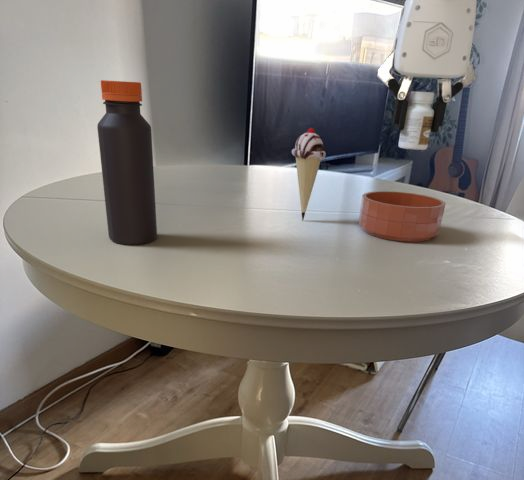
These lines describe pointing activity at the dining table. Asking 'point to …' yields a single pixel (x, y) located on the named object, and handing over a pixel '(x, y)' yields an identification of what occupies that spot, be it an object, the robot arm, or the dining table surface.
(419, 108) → the pill bottle
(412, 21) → the robot arm
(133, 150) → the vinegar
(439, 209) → the bowl
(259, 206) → the dining table surface
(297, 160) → the ice cream cone
